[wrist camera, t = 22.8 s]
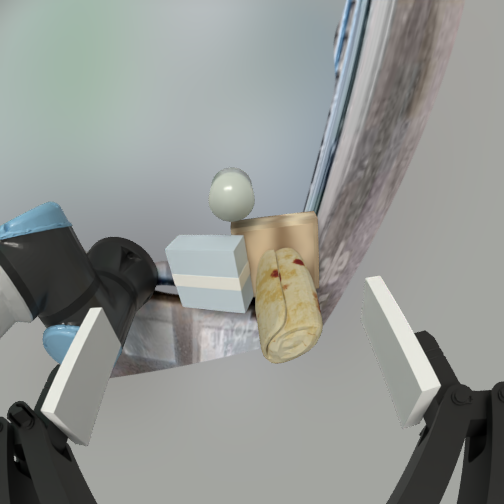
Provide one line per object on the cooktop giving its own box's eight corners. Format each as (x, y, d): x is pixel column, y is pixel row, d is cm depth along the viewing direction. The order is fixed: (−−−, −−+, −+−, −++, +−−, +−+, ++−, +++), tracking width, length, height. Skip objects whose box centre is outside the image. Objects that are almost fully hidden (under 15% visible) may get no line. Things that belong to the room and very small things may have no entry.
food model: (270, 289, 55) (281, 378, 38) (243, 268, 53) (243, 357, 36) (311, 253, 52) (341, 338, 35) (283, 229, 50) (304, 311, 32)
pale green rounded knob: (239, 211, 51) (240, 228, 45) (204, 195, 49) (200, 209, 43) (258, 178, 49) (262, 191, 42) (223, 160, 47) (221, 170, 41)
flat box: (194, 290, 59) (182, 306, 55) (178, 234, 53) (164, 249, 49) (254, 294, 55) (245, 313, 51) (244, 235, 49) (233, 251, 45)
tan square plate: (243, 288, 59) (243, 298, 56) (231, 221, 52) (230, 228, 49) (315, 279, 58) (319, 288, 56) (313, 211, 51) (317, 218, 49)
